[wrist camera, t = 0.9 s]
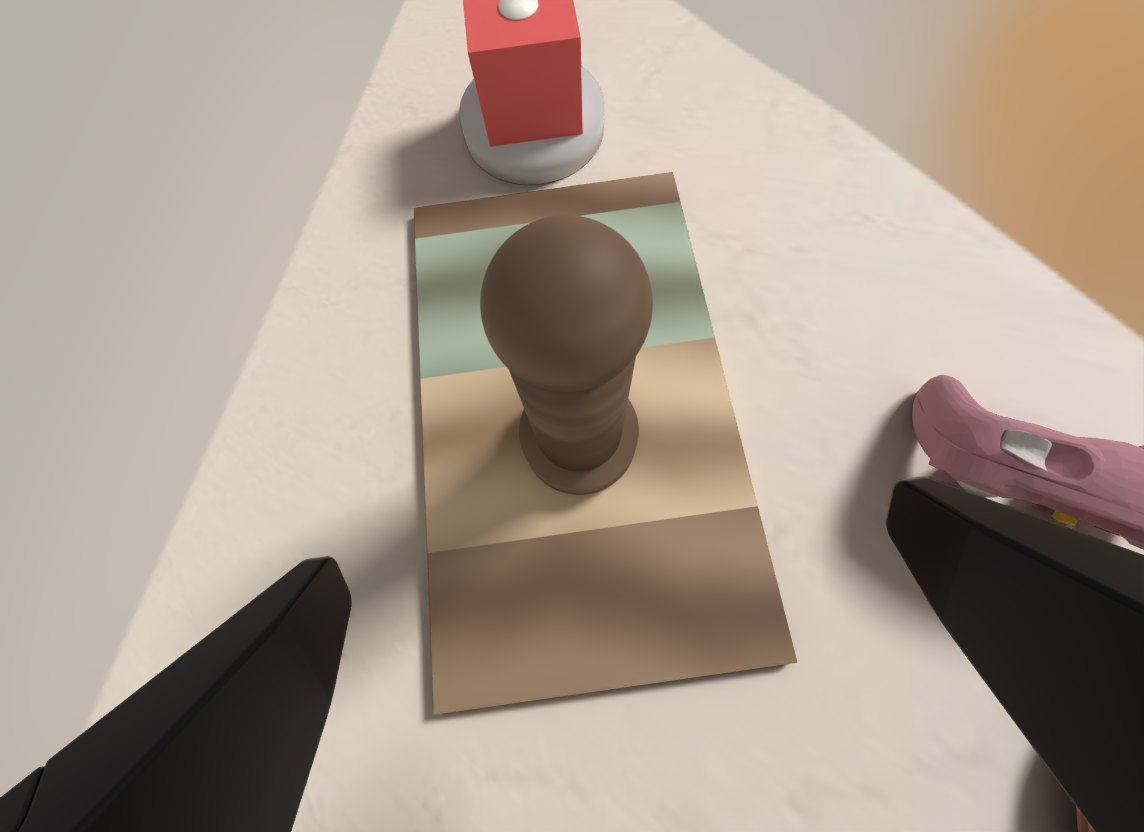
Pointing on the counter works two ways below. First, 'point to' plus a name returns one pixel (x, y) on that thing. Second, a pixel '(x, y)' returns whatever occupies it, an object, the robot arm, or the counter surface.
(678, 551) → the game track
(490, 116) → the die stand
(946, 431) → the video game controller
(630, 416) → the pawn
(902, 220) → the counter surface
